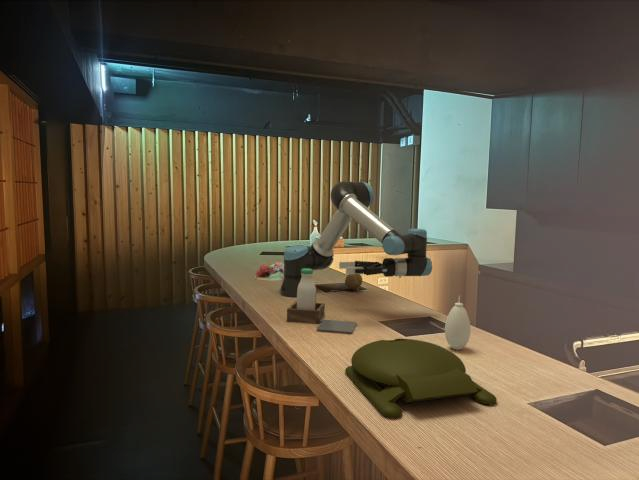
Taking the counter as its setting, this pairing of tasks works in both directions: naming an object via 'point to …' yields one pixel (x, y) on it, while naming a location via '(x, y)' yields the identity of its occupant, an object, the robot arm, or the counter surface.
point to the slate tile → (337, 326)
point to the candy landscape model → (271, 272)
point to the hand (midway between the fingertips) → (342, 267)
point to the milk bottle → (306, 291)
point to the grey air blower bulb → (457, 327)
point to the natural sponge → (353, 281)
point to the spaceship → (411, 374)
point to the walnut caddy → (306, 314)
